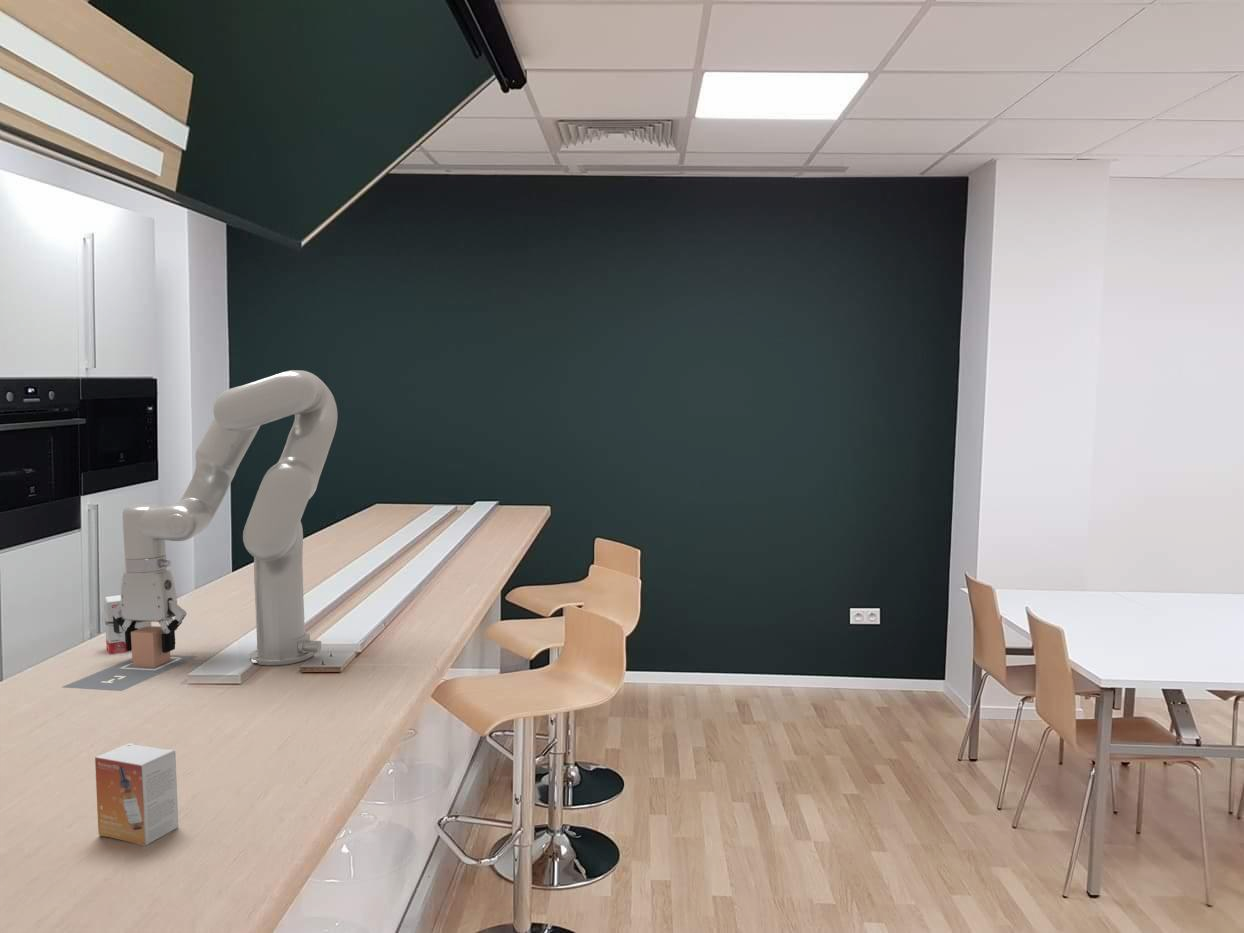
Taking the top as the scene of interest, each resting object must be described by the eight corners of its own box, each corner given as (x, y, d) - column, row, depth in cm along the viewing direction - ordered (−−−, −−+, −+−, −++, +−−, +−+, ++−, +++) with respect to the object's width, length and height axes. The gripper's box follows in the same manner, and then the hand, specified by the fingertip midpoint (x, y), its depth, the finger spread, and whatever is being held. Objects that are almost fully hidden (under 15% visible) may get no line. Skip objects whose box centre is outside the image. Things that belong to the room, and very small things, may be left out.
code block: (170, 660, 204) (168, 626, 203) (154, 667, 199) (152, 633, 199) (149, 659, 205) (147, 625, 204) (132, 666, 200) (130, 632, 200)
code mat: (198, 657, 207) (197, 656, 207) (121, 692, 184) (121, 690, 184) (143, 654, 209) (143, 653, 209) (61, 688, 187) (61, 687, 187)
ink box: (109, 656, 209) (106, 600, 208) (106, 650, 213) (103, 596, 212) (153, 649, 214) (150, 595, 212) (150, 644, 218) (147, 591, 217)
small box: (97, 836, 126) (92, 756, 125) (133, 818, 131) (128, 741, 130) (145, 847, 123) (140, 765, 122) (180, 827, 128) (176, 749, 127)
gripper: (195, 562, 202) (200, 647, 204) (121, 560, 206) (125, 643, 207) (172, 569, 195) (176, 657, 196) (95, 567, 198) (100, 653, 200)
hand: (150, 649), depth 202 cm, fingers open, 7 cm apart
